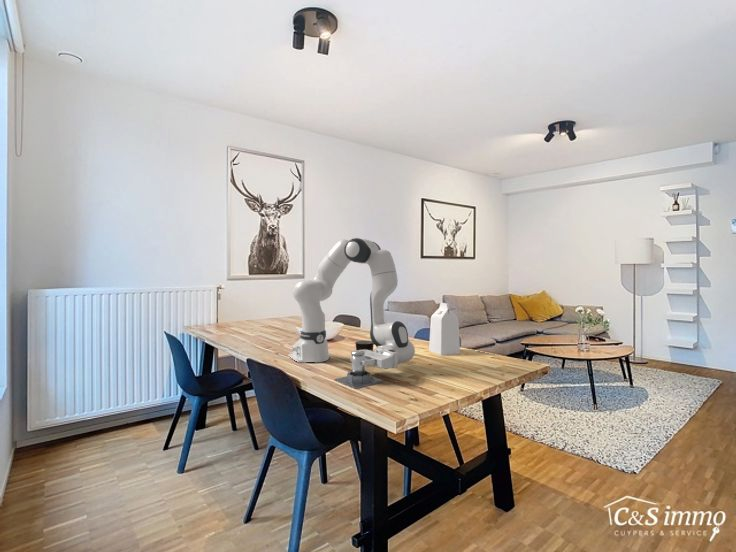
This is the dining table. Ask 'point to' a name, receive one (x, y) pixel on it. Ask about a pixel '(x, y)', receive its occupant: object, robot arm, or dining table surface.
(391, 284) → the robot arm
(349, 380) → the duct collar
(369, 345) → the coffee mug
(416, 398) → the dining table surface
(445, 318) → the milk
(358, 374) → the grey metal cylinder
